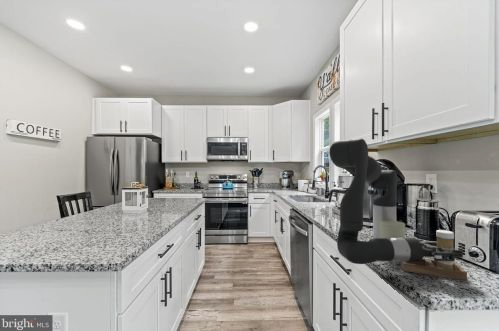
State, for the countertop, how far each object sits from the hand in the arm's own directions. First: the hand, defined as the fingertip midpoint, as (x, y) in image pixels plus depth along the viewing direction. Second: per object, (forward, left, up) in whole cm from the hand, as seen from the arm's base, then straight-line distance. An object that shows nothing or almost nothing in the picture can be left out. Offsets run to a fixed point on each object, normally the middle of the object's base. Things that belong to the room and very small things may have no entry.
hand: (450, 249), depth 80 cm
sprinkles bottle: (+1, -2, -8) cm, 8 cm away
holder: (+1, -6, -8) cm, 9 cm away
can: (-17, -15, -8) cm, 24 cm away
